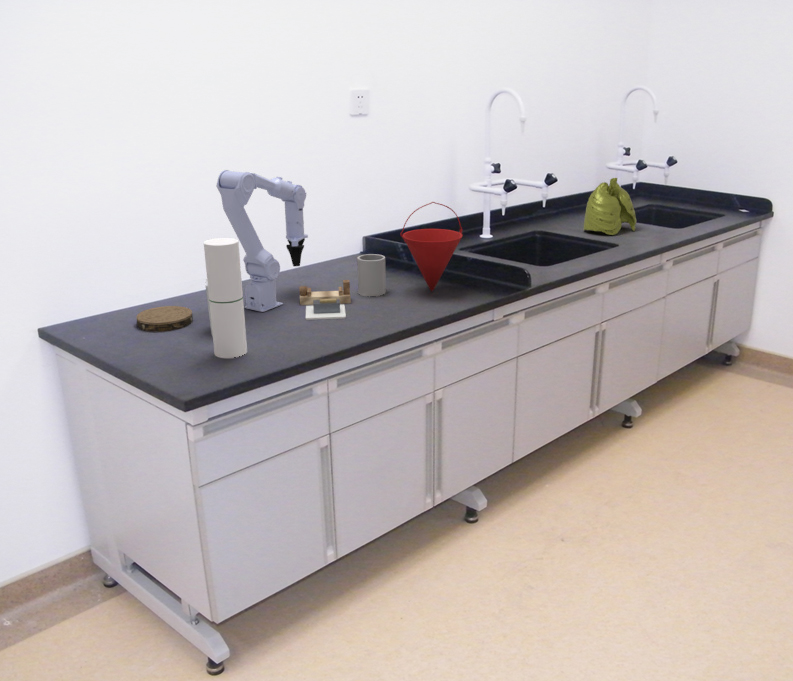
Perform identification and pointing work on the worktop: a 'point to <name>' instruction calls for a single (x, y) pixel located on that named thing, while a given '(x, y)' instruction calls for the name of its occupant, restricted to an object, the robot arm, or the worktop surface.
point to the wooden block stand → (325, 294)
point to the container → (225, 297)
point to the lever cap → (326, 306)
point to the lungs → (609, 209)
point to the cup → (371, 275)
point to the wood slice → (164, 318)
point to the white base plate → (324, 314)
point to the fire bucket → (432, 249)
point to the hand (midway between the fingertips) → (296, 263)
